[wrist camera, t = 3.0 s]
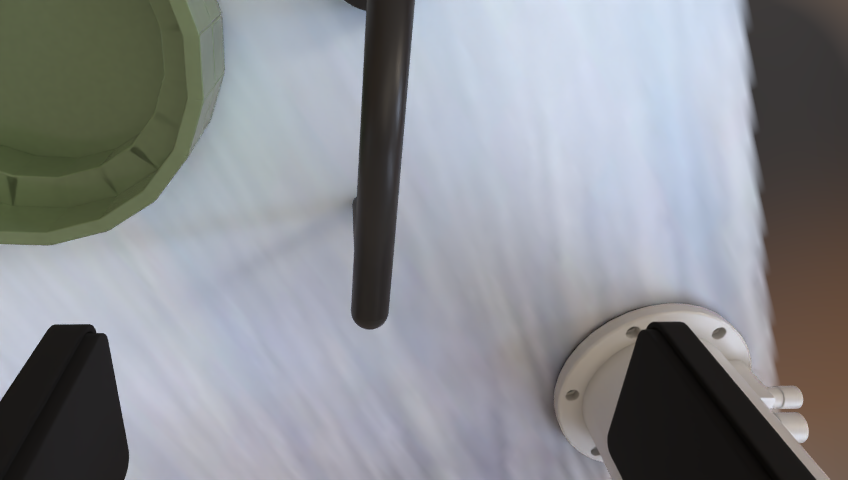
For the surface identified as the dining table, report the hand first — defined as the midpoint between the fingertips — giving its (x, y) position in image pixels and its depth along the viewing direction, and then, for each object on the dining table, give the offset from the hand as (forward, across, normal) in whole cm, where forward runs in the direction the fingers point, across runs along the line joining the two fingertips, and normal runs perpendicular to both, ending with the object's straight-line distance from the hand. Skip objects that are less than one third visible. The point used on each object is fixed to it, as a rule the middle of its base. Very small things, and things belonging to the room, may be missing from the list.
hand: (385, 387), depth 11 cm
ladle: (+21, -1, -1) cm, 21 cm away
